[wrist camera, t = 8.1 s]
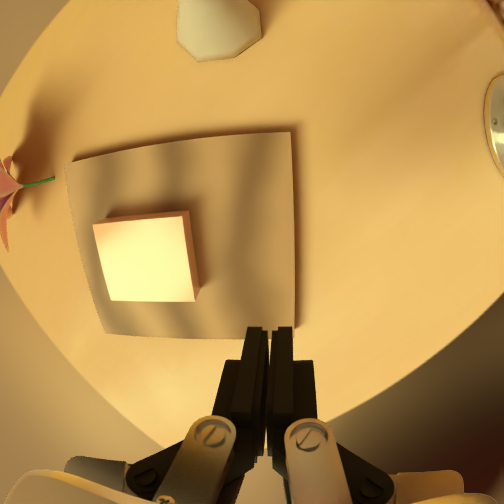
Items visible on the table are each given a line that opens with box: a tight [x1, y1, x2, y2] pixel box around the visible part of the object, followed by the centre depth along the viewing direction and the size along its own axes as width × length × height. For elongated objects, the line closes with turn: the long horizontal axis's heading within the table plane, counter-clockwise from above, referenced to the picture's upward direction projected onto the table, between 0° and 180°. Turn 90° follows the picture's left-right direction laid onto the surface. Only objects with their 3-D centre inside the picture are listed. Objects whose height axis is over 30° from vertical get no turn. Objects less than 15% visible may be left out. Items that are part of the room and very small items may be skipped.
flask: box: [177, 0, 262, 62], centre depth 13 cm, size 7×7×10 cm
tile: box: [93, 210, 200, 302], centre depth 23 cm, size 2×7×8 cm
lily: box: [0, 156, 55, 252], centre depth 20 cm, size 12×12×10 cm
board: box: [64, 132, 295, 339], centre depth 24 cm, size 20×18×1 cm
